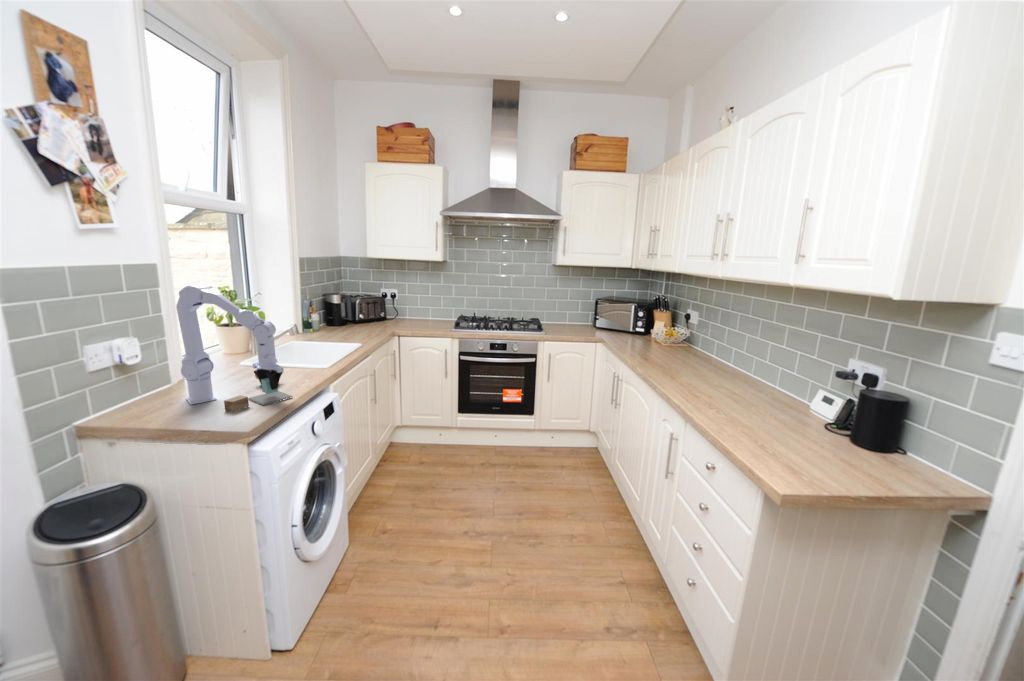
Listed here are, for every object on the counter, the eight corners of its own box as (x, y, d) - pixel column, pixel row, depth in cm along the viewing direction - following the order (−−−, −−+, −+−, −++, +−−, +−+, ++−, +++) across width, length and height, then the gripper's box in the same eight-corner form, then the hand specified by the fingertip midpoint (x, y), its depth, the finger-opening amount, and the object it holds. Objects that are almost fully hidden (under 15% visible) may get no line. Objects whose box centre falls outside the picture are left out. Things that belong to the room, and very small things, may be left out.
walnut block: (225, 411, 145) (223, 400, 144) (240, 405, 150) (239, 395, 150) (233, 412, 144) (232, 401, 143) (248, 407, 149) (247, 396, 148)
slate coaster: (248, 399, 156) (248, 397, 156) (277, 392, 165) (277, 390, 165) (263, 405, 150) (263, 403, 150) (292, 398, 159) (292, 396, 159)
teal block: (262, 391, 157) (261, 379, 156) (273, 389, 160) (271, 377, 159) (267, 393, 154) (266, 381, 153) (278, 391, 158) (277, 378, 157)
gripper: (243, 353, 153) (247, 388, 156) (269, 358, 148) (273, 393, 150) (261, 350, 160) (264, 383, 162) (287, 354, 154) (290, 388, 157)
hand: (269, 388), depth 157 cm, fingers closed on teal block, 5 cm apart
